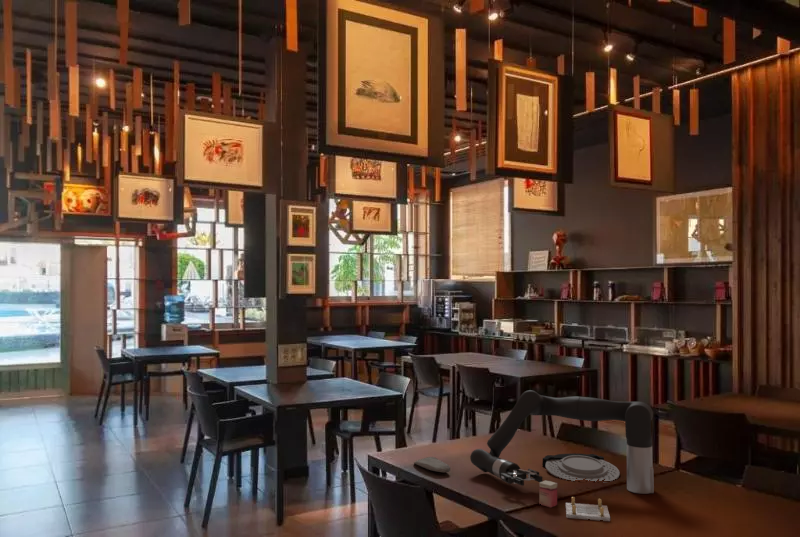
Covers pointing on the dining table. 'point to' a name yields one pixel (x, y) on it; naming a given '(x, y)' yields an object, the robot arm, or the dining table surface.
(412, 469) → the dining table surface
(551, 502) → the small box
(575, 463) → the brake disc
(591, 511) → the chassis
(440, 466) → the stone
